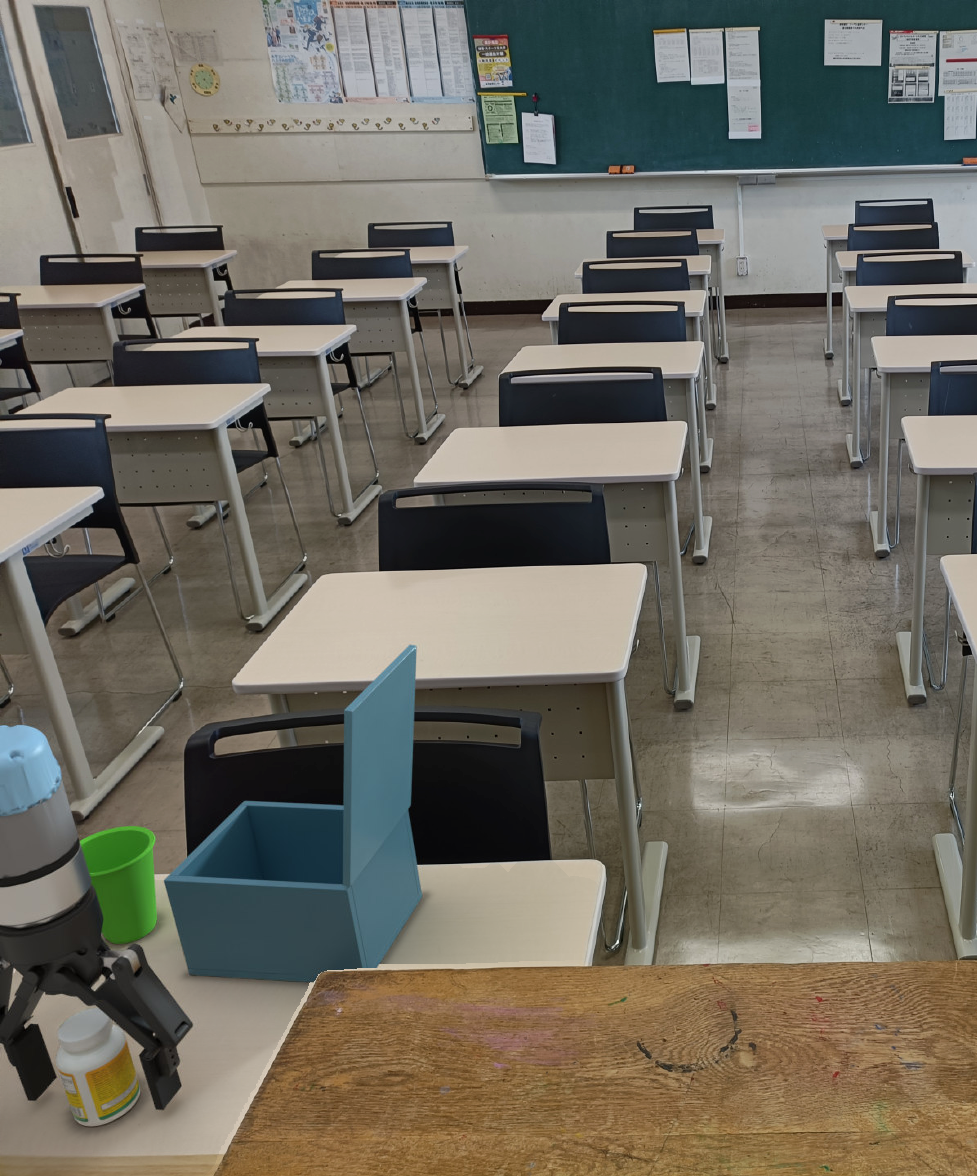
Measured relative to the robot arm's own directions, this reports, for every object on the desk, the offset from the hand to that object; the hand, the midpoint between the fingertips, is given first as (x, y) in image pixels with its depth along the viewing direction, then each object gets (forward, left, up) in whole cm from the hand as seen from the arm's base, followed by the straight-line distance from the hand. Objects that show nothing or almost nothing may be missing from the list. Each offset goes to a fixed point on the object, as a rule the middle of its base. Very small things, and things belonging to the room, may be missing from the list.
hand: (105, 1093), depth 96 cm
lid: (+18, +24, +22) cm, 37 cm away
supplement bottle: (0, 0, -2) cm, 2 cm away
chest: (+7, +24, -1) cm, 25 cm away
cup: (-14, +23, -2) cm, 27 cm away
